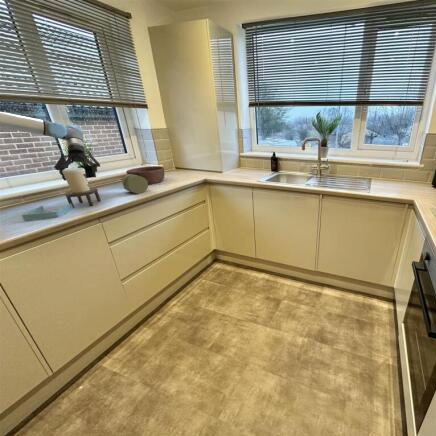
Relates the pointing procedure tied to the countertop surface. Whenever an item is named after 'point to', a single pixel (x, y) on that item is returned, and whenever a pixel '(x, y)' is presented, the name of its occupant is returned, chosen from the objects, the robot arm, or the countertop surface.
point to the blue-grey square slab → (46, 213)
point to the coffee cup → (76, 179)
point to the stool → (86, 193)
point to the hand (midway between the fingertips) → (79, 177)
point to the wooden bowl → (149, 173)
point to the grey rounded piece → (134, 183)
